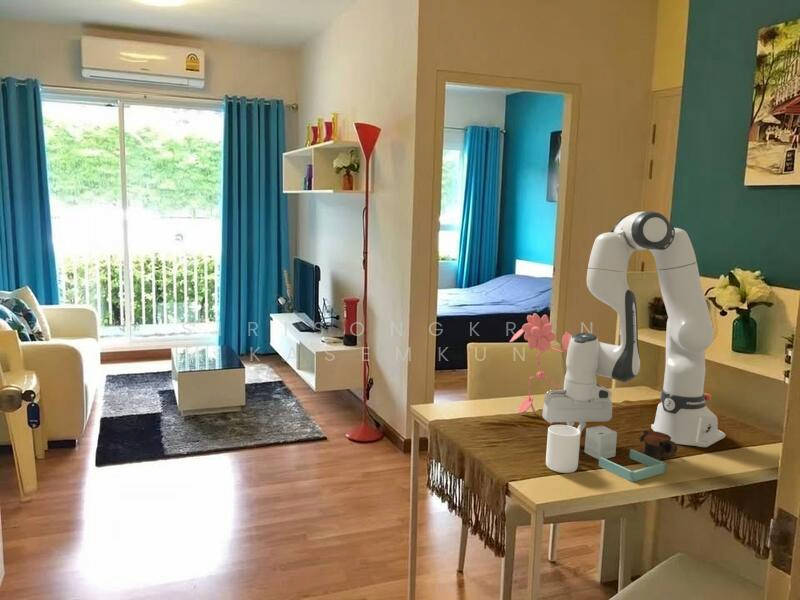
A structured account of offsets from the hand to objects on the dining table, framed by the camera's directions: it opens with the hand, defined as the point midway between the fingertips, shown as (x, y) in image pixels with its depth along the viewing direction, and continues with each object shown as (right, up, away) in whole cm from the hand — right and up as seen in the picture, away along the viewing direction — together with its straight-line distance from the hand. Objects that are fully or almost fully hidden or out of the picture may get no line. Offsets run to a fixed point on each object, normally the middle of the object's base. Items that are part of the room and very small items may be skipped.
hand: (575, 435), depth 188 cm
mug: (-7, -5, -16) cm, 18 cm away
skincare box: (+5, -4, -7) cm, 10 cm away
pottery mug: (+21, -5, -8) cm, 23 cm away
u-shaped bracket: (+10, -5, -17) cm, 21 cm away
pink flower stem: (-9, +1, +19) cm, 21 cm away
